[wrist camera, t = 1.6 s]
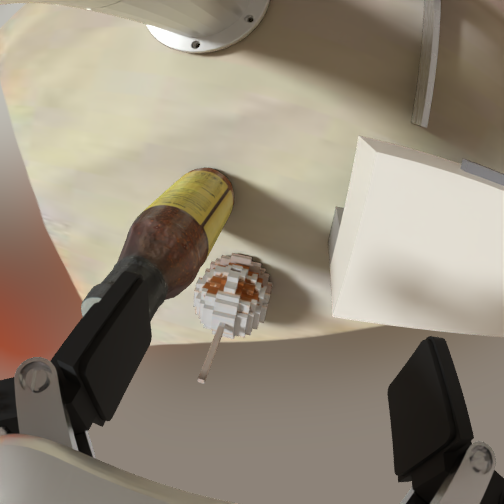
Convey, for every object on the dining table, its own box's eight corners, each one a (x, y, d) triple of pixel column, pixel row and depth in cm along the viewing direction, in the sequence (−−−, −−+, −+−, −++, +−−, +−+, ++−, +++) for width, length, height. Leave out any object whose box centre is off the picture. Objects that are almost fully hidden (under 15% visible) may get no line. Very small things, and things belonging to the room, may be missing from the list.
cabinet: (352, 120, 26) (378, 138, 16) (531, 180, 23) (595, 224, 13) (328, 241, 32) (332, 316, 22) (496, 275, 30) (538, 339, 19)
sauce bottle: (170, 179, 32) (41, 283, 15) (221, 155, 30) (103, 253, 13) (198, 231, 34) (103, 365, 17) (248, 212, 32) (177, 358, 15)
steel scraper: (416, -38, 16) (442, -68, 9) (438, -30, 15) (469, -56, 9) (402, 120, 25) (432, 130, 18) (424, 126, 24) (459, 140, 18)
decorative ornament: (277, 260, 34) (254, 363, 22) (266, 312, 38) (241, 414, 26) (209, 245, 35) (153, 337, 22) (205, 298, 39) (160, 392, 26)
